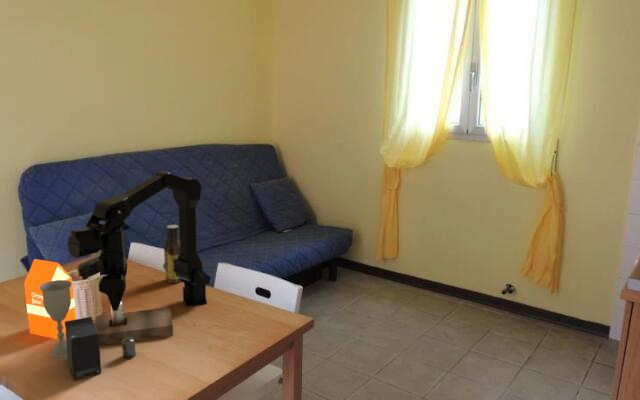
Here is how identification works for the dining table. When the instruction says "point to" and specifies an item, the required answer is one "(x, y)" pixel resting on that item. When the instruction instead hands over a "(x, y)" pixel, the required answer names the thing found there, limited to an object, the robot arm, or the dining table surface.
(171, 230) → the sauce bottle
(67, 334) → the small box
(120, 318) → the long pin
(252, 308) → the dining table surface
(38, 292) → the orange juice
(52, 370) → the dining table surface
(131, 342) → the short pin
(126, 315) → the pin board
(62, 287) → the chalice
